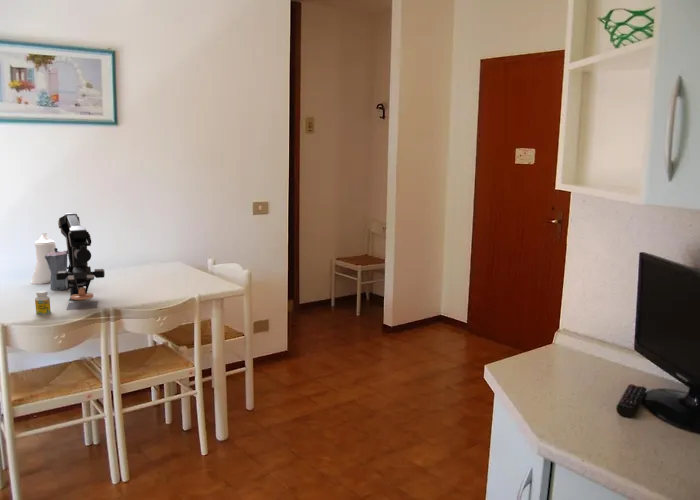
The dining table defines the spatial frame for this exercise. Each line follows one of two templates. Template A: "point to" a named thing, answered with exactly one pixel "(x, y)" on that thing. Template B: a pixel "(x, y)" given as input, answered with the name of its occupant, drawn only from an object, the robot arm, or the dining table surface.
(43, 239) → the white bottle
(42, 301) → the supplement bottle
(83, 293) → the lid
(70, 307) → the mat
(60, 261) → the moka pot
